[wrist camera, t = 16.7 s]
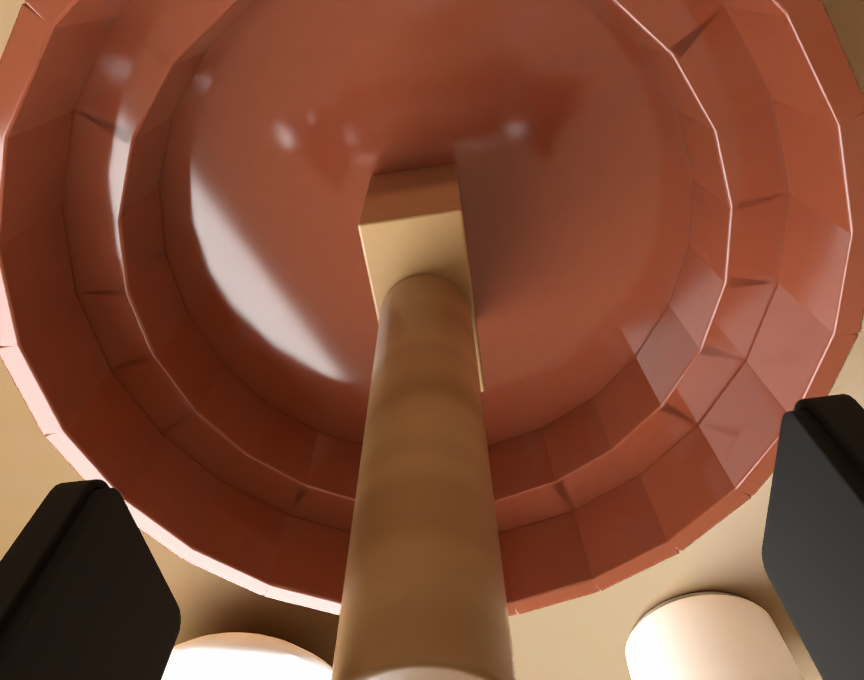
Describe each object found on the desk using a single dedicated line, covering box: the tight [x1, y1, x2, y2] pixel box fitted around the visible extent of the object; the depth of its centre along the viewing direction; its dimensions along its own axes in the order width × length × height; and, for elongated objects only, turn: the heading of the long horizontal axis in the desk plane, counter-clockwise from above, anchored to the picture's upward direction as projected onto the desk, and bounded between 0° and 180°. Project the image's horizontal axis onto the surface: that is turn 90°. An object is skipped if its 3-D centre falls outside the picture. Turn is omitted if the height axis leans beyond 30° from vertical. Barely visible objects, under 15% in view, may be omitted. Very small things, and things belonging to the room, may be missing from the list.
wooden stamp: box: [331, 164, 516, 680], centre depth 14 cm, size 5×2×14 cm, turn 8°
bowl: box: [0, 0, 864, 616], centre depth 17 cm, size 19×19×6 cm
